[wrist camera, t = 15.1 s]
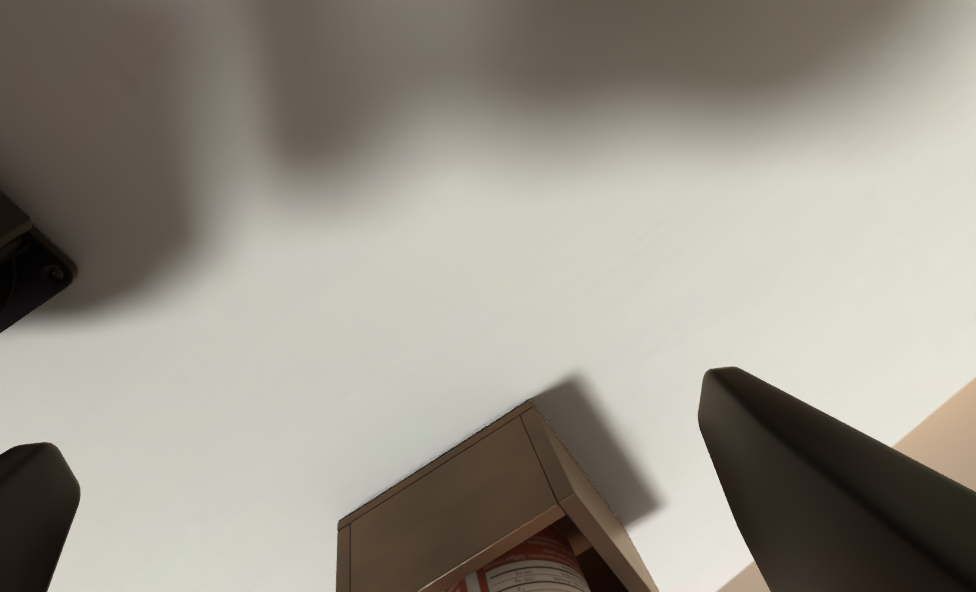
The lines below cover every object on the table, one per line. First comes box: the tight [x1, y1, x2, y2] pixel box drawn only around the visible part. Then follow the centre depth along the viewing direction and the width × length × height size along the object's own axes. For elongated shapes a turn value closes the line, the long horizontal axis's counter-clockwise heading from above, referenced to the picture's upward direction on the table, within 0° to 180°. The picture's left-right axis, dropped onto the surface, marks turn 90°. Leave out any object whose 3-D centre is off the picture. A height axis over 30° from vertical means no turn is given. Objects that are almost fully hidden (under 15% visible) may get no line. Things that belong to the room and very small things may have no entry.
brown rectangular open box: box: [336, 400, 659, 592], centre depth 24 cm, size 10×10×6 cm
